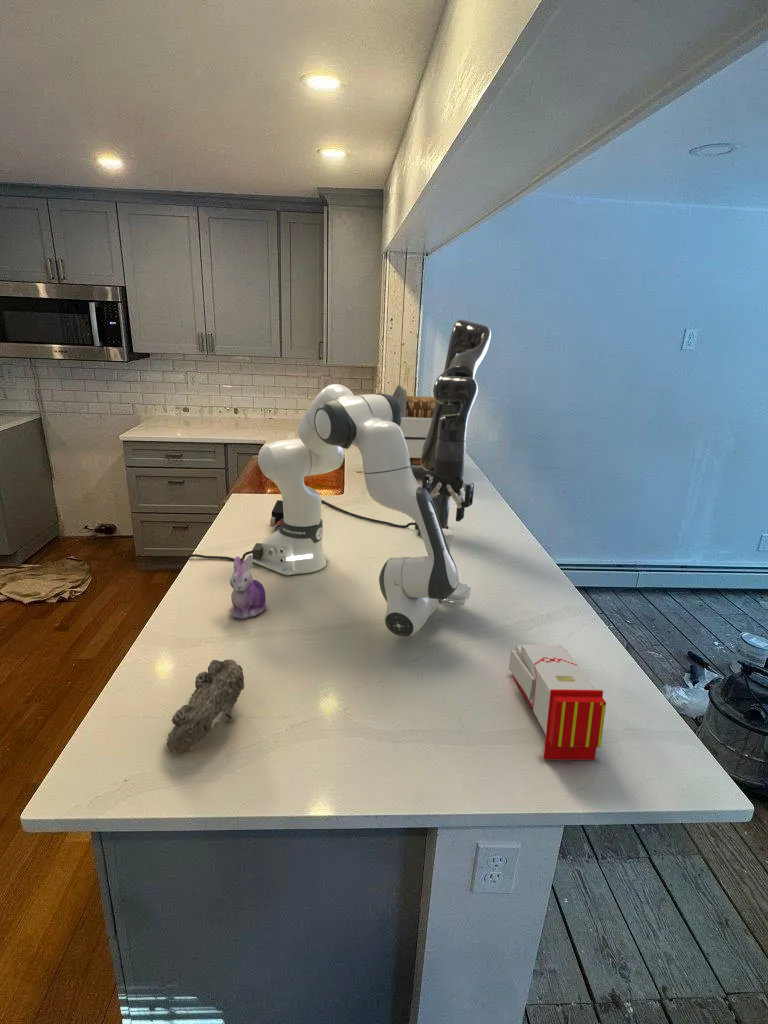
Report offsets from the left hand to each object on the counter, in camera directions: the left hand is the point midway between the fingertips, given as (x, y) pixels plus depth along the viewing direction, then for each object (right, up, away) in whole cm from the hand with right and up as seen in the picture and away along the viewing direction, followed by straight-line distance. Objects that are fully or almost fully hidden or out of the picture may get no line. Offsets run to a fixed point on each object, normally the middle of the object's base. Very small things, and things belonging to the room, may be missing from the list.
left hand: (440, 575), depth 156 cm
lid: (0, +12, -5) cm, 13 cm away
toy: (+17, -22, -41) cm, 50 cm away
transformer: (+2, +36, +119) cm, 125 cm away
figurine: (-50, -8, -10) cm, 52 cm away
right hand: (0, +16, -7) cm, 17 cm away
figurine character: (-52, +12, +46) cm, 71 cm away
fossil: (-48, -22, -48) cm, 71 cm away
